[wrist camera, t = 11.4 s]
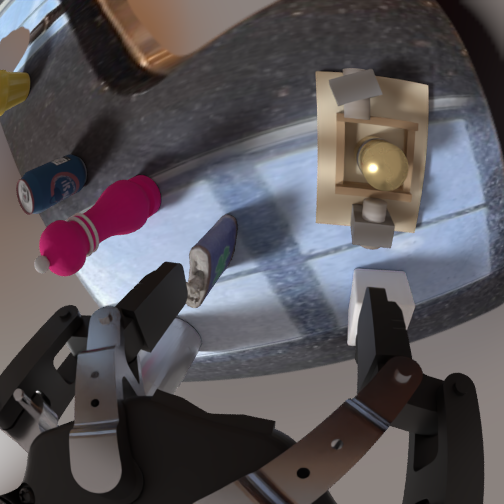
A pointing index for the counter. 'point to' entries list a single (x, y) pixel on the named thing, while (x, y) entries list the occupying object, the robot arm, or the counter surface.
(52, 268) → the pepper mill
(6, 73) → the plant pot
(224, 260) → the flask
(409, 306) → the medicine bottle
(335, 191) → the wooden board with frame
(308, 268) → the counter surface
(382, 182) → the cylinder
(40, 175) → the soda can
